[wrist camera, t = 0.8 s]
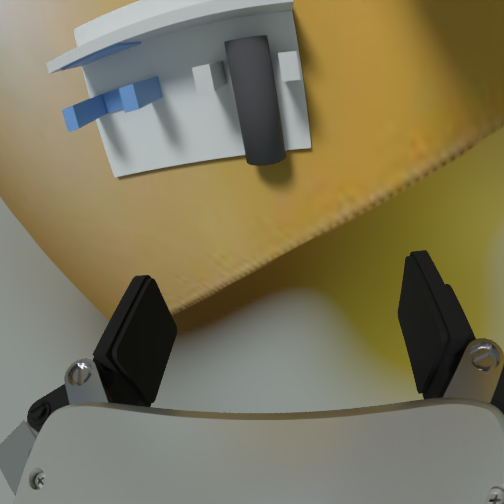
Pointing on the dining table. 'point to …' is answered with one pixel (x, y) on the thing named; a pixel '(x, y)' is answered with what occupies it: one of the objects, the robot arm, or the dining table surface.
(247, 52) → the cylinder
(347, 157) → the dining table surface
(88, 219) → the dining table surface
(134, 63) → the white holder rack
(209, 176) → the dining table surface
